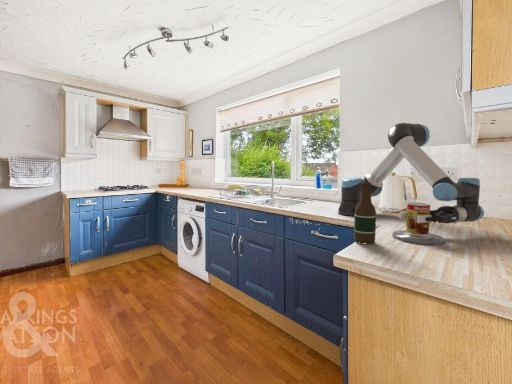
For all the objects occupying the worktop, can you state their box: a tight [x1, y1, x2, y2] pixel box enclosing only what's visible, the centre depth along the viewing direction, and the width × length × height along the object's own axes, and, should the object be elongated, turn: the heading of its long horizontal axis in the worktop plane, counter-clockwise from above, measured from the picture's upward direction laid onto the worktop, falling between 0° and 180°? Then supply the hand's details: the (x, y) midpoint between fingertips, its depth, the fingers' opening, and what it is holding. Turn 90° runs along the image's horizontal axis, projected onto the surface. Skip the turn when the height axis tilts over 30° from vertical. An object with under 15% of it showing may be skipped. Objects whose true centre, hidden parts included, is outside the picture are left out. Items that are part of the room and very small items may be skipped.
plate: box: [392, 229, 445, 246], centre depth 104 cm, size 18×18×1 cm
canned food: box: [405, 202, 431, 235], centre depth 104 cm, size 8×8×12 cm
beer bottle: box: [353, 182, 377, 245], centre depth 99 cm, size 8×8×24 cm
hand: (408, 217), depth 102 cm, fingers closed on canned food, 8 cm apart
